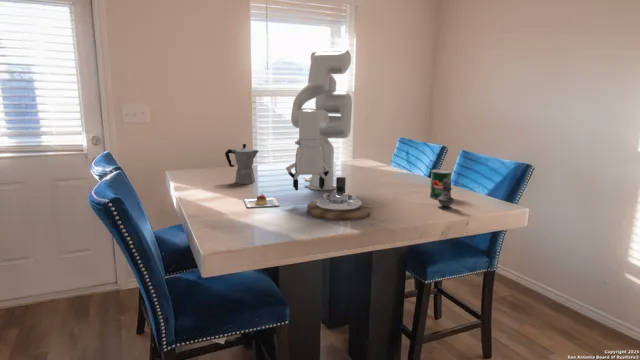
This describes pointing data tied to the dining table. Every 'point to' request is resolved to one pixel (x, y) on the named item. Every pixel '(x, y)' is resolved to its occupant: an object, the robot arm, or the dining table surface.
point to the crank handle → (338, 199)
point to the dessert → (261, 201)
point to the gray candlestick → (446, 195)
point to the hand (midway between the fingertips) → (308, 188)
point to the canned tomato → (438, 182)
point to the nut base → (338, 213)
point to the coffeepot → (243, 164)
